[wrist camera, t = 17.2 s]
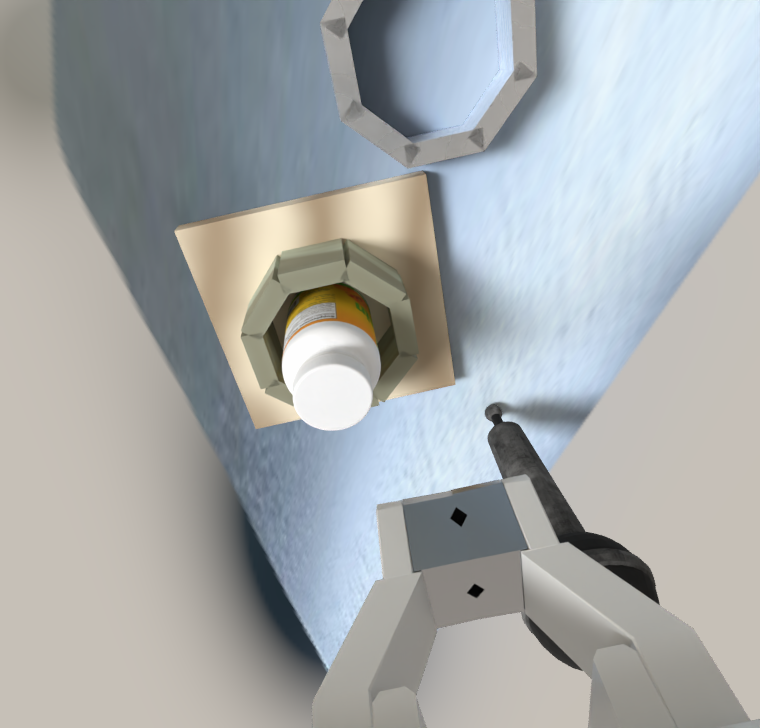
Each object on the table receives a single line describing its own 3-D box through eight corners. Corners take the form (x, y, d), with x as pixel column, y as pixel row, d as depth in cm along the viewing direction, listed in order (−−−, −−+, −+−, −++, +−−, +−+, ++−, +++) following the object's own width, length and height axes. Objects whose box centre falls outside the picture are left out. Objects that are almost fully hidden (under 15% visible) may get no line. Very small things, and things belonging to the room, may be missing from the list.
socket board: (422, 170, 30) (440, 188, 26) (451, 375, 38) (469, 417, 34) (179, 225, 31) (155, 253, 26) (257, 419, 38) (249, 466, 34)
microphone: (523, 441, 42) (663, 697, 25) (443, 443, 42) (531, 709, 24) (542, 371, 39) (718, 612, 22) (454, 371, 38) (567, 622, 21)
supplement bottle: (380, 336, 35) (401, 423, 26) (306, 361, 35) (303, 455, 27) (354, 265, 32) (367, 336, 23) (273, 293, 32) (259, 373, 24)
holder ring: (513, -97, 25) (532, -112, 22) (523, 133, 30) (538, 138, 28) (304, -48, 25) (303, -59, 23) (351, 172, 30) (353, 180, 28)
